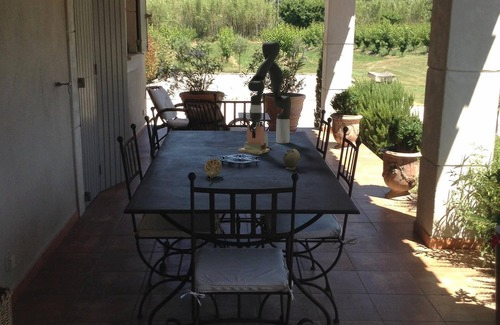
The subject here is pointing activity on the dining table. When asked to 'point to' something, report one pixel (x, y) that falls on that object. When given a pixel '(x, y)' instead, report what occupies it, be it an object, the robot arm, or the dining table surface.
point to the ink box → (266, 138)
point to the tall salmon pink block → (256, 135)
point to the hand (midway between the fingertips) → (255, 137)
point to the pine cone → (213, 167)
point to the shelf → (254, 148)
